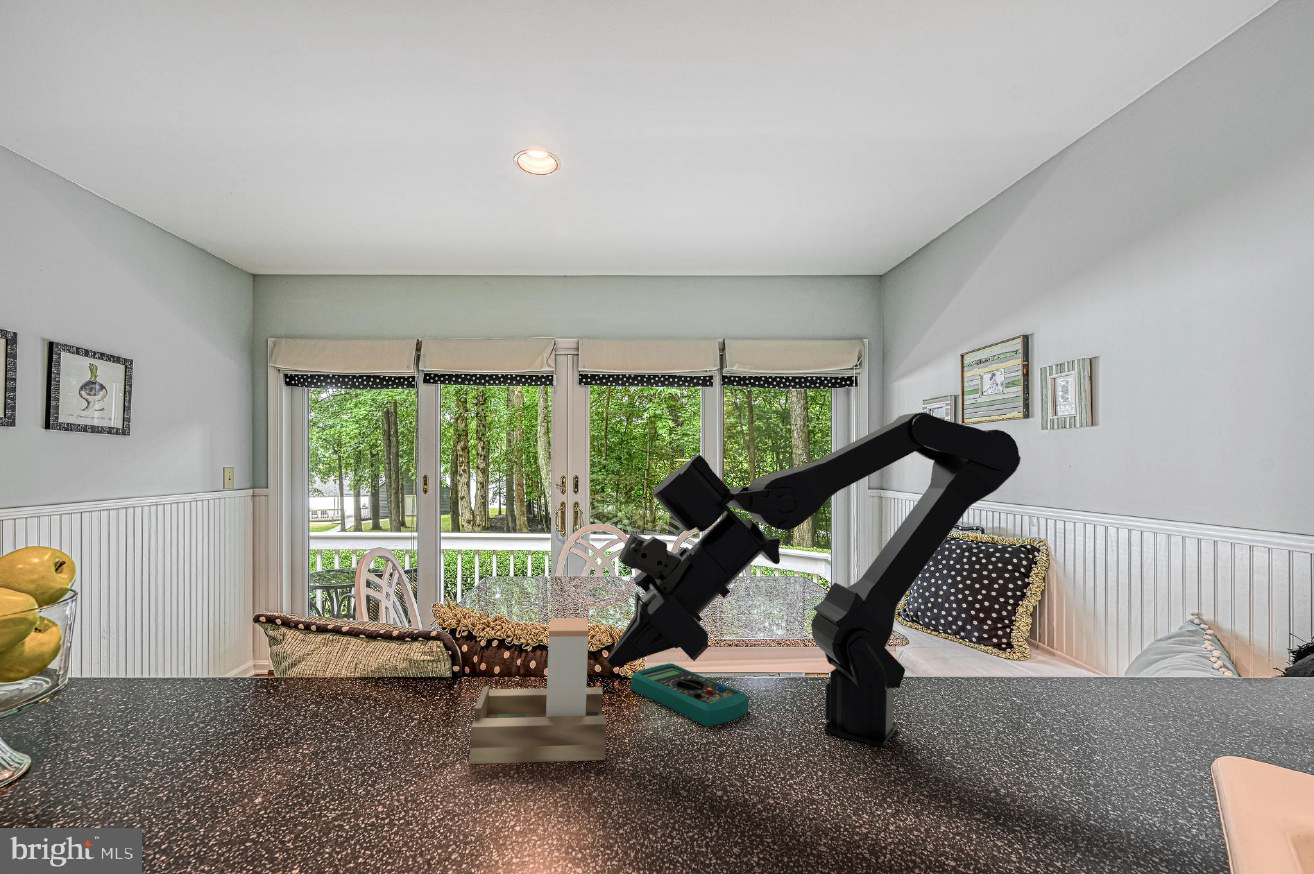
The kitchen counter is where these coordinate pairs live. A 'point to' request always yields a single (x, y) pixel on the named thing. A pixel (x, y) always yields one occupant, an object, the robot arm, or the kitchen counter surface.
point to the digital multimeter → (690, 694)
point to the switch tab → (567, 667)
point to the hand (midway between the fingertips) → (610, 663)
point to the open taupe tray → (534, 729)
